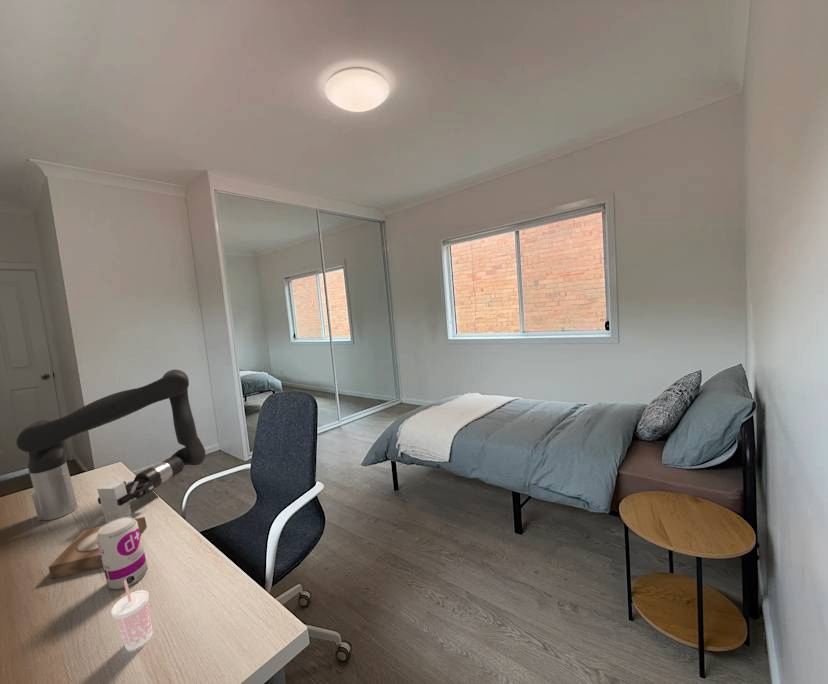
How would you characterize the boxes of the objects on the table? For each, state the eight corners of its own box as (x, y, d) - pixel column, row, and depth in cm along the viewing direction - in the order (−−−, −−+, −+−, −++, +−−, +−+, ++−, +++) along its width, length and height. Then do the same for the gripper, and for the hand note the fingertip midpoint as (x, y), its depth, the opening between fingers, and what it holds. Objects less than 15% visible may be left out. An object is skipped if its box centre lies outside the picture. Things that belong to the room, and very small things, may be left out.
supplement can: (155, 568, 98) (144, 516, 95) (122, 594, 90) (109, 538, 88) (134, 564, 100) (122, 513, 98) (100, 588, 93) (86, 533, 90)
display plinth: (51, 579, 98) (48, 565, 97) (87, 540, 113) (84, 528, 112) (121, 562, 102) (118, 548, 101) (146, 527, 117) (144, 515, 116)
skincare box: (132, 514, 125) (124, 481, 123) (121, 522, 121) (113, 488, 119) (116, 514, 126) (108, 482, 124) (104, 522, 122) (96, 489, 120)
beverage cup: (163, 625, 80) (150, 567, 78) (144, 653, 74) (129, 590, 72) (134, 628, 80) (120, 570, 78) (113, 656, 74) (97, 594, 72)
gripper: (137, 466, 137) (89, 490, 122) (167, 467, 134) (122, 492, 118) (141, 485, 139) (94, 511, 123) (171, 487, 135) (127, 514, 119)
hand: (108, 502), depth 121 cm, fingers open, 8 cm apart
